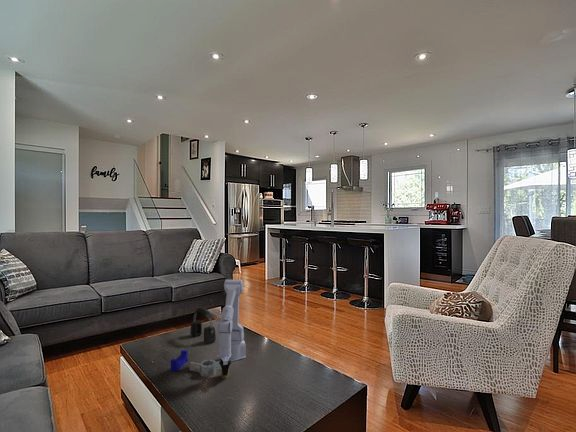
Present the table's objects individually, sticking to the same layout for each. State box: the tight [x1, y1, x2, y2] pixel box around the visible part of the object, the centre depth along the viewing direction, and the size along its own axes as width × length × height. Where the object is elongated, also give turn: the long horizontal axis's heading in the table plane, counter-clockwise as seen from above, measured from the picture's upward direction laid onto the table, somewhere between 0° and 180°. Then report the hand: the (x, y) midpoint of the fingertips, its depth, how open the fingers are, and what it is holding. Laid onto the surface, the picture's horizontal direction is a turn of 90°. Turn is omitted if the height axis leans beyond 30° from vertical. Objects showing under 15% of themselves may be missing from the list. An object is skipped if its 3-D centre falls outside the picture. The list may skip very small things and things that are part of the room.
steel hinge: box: [189, 359, 221, 378], centre depth 159 cm, size 18×12×5 cm
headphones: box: [189, 307, 217, 344], centre depth 200 cm, size 22×6×20 cm, turn 48°
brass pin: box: [220, 360, 230, 380], centre depth 152 cm, size 4×4×8 cm
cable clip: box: [170, 349, 189, 373], centre depth 163 cm, size 12×4×6 cm, turn 171°
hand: (225, 372), depth 152 cm, fingers closed on brass pin, 4 cm apart
